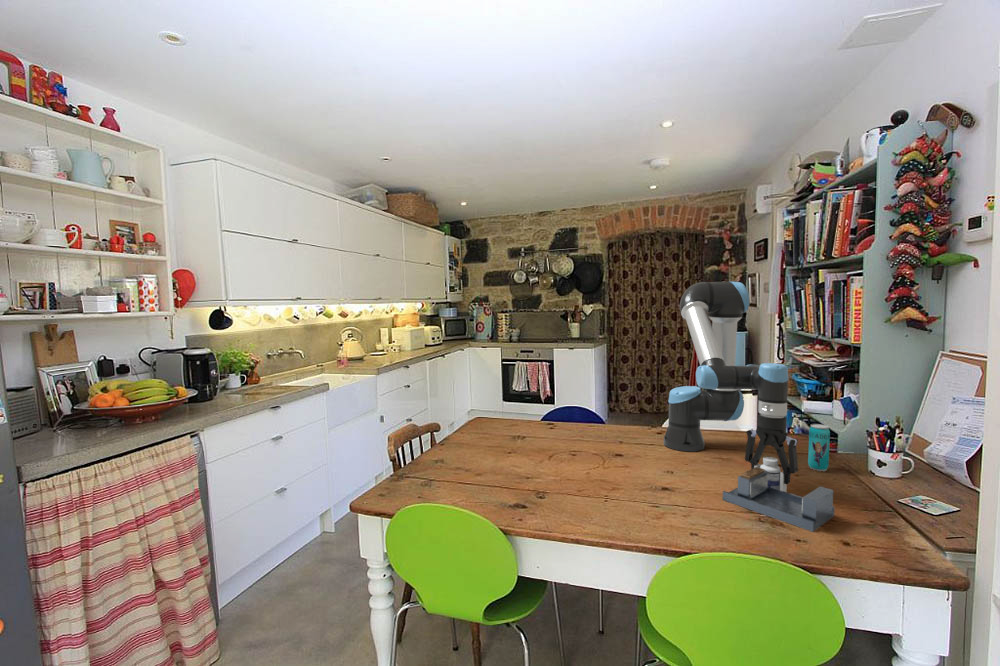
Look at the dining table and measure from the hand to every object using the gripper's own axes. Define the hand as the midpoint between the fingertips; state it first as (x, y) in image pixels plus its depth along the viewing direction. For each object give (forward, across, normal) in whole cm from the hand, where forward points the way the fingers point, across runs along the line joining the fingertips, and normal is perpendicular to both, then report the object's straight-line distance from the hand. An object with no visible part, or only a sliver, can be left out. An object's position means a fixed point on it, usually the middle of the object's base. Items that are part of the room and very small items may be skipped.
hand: (769, 489), depth 139 cm
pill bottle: (+1, 0, 0) cm, 1 cm away
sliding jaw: (-1, 0, -11) cm, 11 cm away
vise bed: (0, +6, -11) cm, 13 cm away
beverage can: (0, +2, +31) cm, 31 cm away
